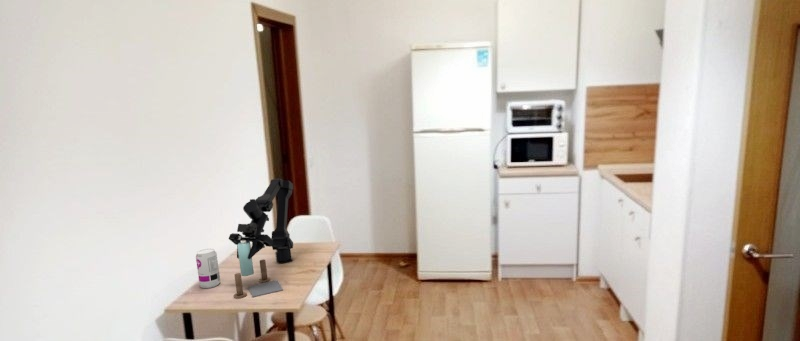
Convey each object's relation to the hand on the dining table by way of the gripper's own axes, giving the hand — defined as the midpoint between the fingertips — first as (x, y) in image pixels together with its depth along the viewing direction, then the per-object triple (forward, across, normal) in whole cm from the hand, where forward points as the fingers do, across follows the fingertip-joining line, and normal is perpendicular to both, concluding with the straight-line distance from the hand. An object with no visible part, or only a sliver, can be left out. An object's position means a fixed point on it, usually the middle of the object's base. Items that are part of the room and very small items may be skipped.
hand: (243, 258), depth 186 cm
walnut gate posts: (+8, +2, +10) cm, 13 cm away
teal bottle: (+4, 0, +6) cm, 7 cm away
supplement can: (+9, -20, +10) cm, 24 cm away
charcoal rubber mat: (+8, +8, +10) cm, 15 cm away
